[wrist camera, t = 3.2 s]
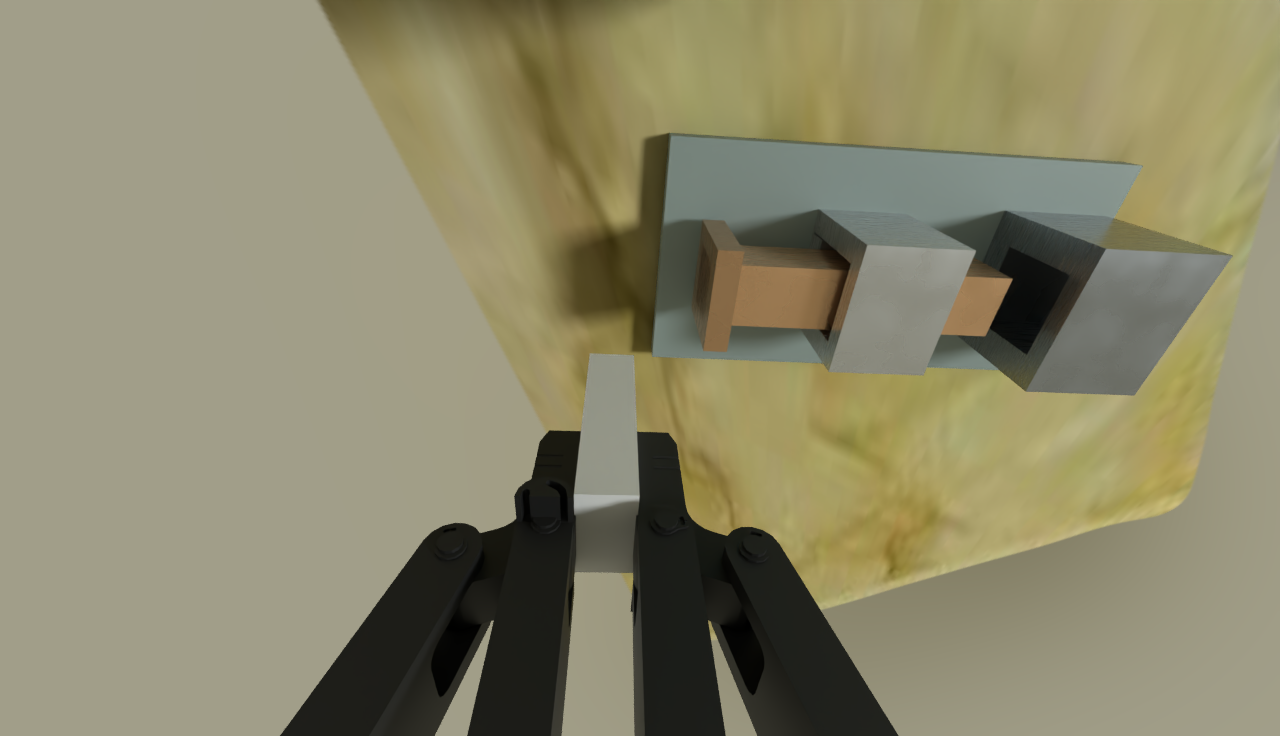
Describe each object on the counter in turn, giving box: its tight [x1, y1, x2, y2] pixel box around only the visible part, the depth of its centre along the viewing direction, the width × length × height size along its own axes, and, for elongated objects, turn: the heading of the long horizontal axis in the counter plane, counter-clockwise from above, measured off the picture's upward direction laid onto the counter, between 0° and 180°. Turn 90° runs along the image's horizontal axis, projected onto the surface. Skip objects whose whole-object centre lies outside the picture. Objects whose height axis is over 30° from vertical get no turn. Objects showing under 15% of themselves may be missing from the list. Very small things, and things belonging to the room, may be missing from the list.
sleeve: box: [800, 209, 976, 375], centre depth 26 cm, size 7×5×6 cm
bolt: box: [691, 219, 1013, 352], centre depth 26 cm, size 5×15×5 cm, turn 87°
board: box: [651, 133, 1143, 370], centre depth 30 cm, size 13×26×1 cm, turn 87°
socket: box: [957, 210, 1232, 395], centre depth 27 cm, size 8×6×7 cm
